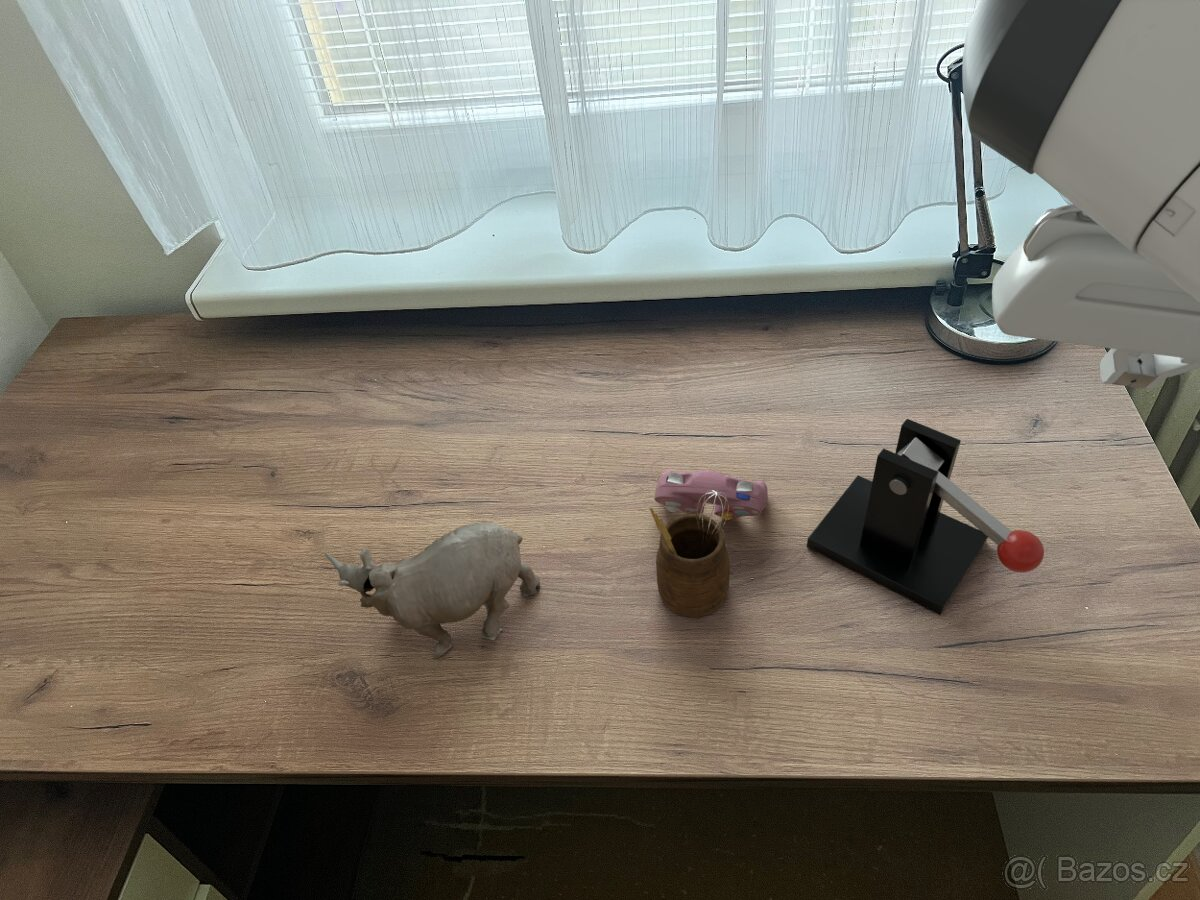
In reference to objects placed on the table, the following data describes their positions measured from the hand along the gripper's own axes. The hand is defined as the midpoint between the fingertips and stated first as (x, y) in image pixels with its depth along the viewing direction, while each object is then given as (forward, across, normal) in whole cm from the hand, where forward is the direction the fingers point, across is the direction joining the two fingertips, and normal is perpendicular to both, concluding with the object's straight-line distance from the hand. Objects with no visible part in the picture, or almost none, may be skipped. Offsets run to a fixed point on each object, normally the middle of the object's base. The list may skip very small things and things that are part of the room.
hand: (1124, 377), depth 54 cm
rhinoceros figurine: (+26, -44, -15) cm, 53 cm away
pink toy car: (+27, -22, -1) cm, 35 cm away
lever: (+17, -4, -3) cm, 18 cm away
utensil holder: (+25, -23, -10) cm, 35 cm away
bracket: (+24, -7, -3) cm, 26 cm away
